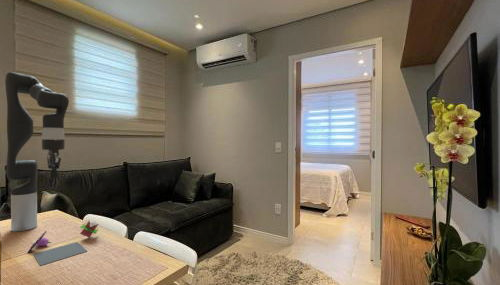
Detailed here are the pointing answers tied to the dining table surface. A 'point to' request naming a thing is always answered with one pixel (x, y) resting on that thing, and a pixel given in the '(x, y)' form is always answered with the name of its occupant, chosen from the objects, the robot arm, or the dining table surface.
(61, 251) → the mat
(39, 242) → the game card
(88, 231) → the geometric puzzle
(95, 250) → the dining table surface
